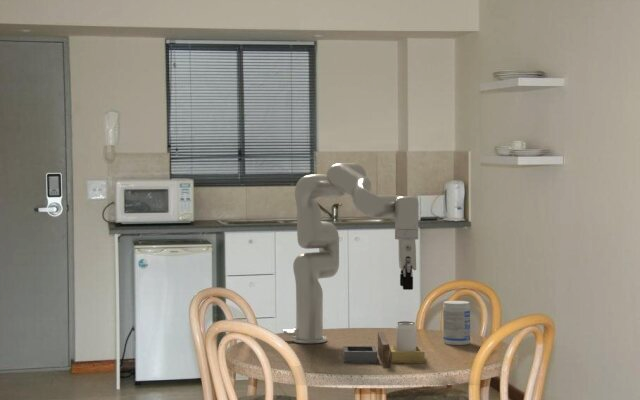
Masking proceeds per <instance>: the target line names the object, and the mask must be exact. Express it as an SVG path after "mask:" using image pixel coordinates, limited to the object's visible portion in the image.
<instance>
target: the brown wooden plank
mask: <svg viewBox="0 0 640 400" xmlns="http://www.w3.org/2000/svg"><path fill="white" fill-rule="evenodd" d="M389 346H390V343H389V341H388V338H387V337H386V334H385V332H384V331H377V356H378V357H379V361H380V362H381V366H382V368H390V357H389Z"/></svg>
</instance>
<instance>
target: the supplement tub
mask: <svg viewBox="0 0 640 400" xmlns="http://www.w3.org/2000/svg"><path fill="white" fill-rule="evenodd" d="M442 304H443V305H442V342H443V343H444V344H446V345H450V346H466V345H469V344H470V343H471V306H470V305H471V304H470V301H468V300H467V301H466V300H446V301H443V303H442Z"/></svg>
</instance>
